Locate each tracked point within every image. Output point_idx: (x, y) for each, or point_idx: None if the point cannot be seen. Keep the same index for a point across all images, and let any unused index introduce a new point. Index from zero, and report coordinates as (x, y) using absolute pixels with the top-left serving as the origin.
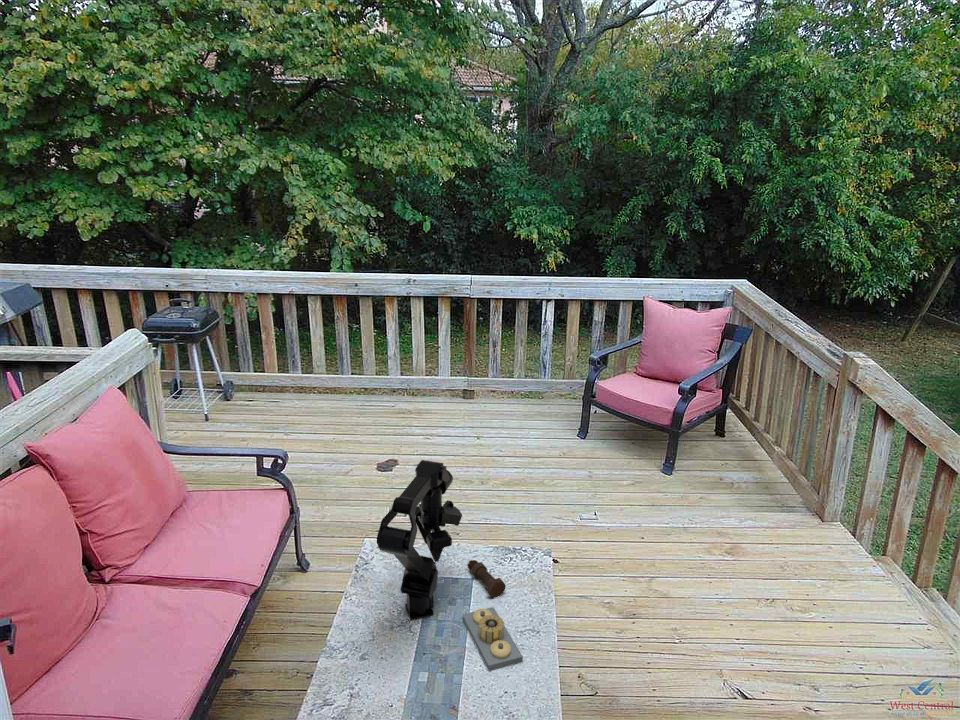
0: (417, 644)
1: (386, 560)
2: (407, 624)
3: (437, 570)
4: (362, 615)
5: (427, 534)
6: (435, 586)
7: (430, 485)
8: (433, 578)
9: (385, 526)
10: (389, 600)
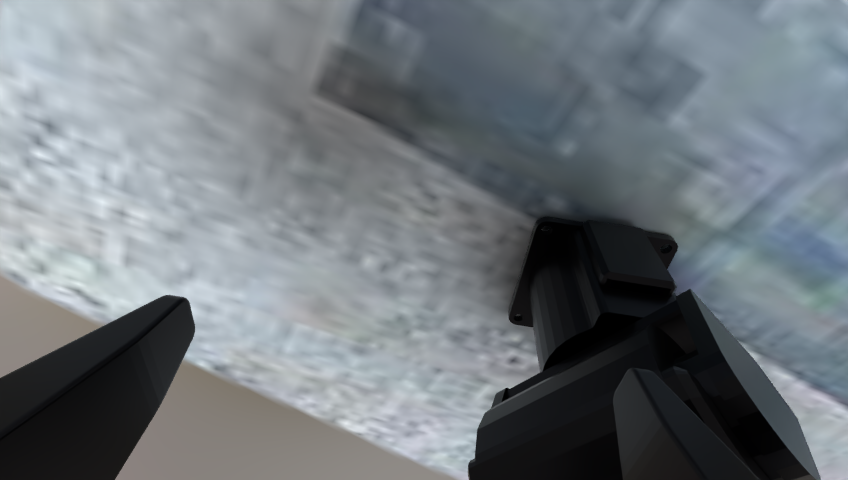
0: (785, 368)
1: (111, 253)
2: None
3: (759, 408)
4: (469, 439)
5: (76, 441)
6: (712, 321)
7: None
8: (808, 456)
9: None
10: (433, 348)
